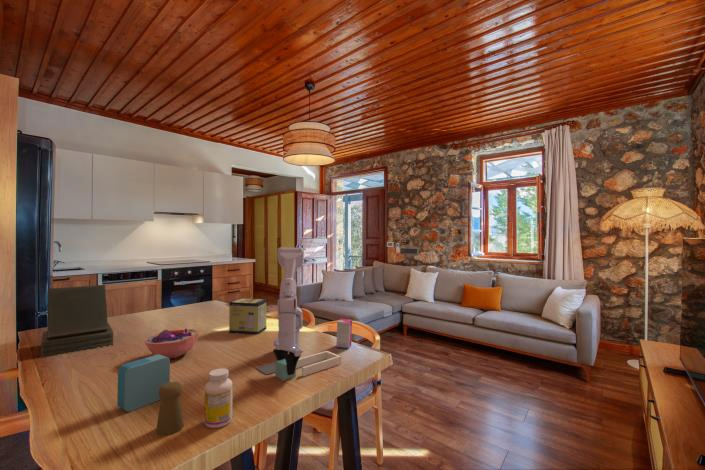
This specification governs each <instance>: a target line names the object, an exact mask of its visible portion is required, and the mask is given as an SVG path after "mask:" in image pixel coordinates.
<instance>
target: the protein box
mask: <svg viewBox="0 0 705 470" xmlns="http://www.w3.org/2000/svg"><path fill="white" fill-rule="evenodd" d="M228 309H229V312H228V314H229V316H228V317H229V318H228V320H229V321H228V322H229V325H228V333H229V334H236V333H238V334H239V335H255V334H258V335H259V334H261V333H263V332H264V331H265V330H267V299H265V298H264V299H262V298H261V299H260V298H237V299H234V300H232V301H229V307H228Z"/></svg>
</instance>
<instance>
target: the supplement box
mask: <svg viewBox="0 0 705 470" xmlns="http://www.w3.org/2000/svg"><path fill="white" fill-rule="evenodd" d="M352 332H353V319H348V318H347V319H346V318H339V320H337V321H336V343H335V344H336V345H335V346H336V347H335V348H336V349H343V350H349V349H350V347H352V338H353V337H352V335H353V334H352Z"/></svg>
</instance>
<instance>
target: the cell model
mask: <svg viewBox="0 0 705 470" xmlns="http://www.w3.org/2000/svg"><path fill="white" fill-rule="evenodd" d="M198 340H199V331H198V330H196V329H193V328H191V329H188V328H184V329H175V330H169V329H163V330H162V331H160V332H157V333H155V334H153V335H150V336H148V337H146V338H145V339H144V340H143V343H144V345H145V347H146V348H147V349H148V351H150V353H152V356H154V355H162V356H165V357H167V358H169V359H170V360H172V359H176V358H178V357H180V356H183V355H184V354H186V353H188V352H189V351H191V350H192V349H193V348H194V347H195V345H196V344H197V341H198Z"/></svg>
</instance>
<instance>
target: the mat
mask: <svg viewBox="0 0 705 470" xmlns="http://www.w3.org/2000/svg"><path fill="white" fill-rule="evenodd" d="M255 369H256V370H257V371H259V372H260V373H262V374H263V375H265V376H269V375H272V374H275V361H274V362H272V363H267V364H264V365H261V366H256V367H255Z"/></svg>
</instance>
